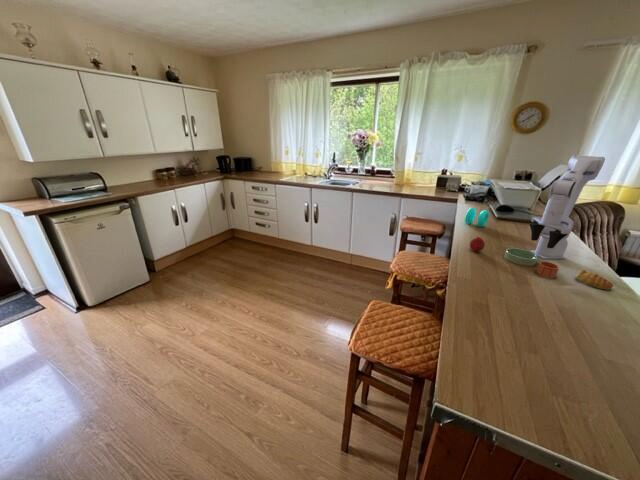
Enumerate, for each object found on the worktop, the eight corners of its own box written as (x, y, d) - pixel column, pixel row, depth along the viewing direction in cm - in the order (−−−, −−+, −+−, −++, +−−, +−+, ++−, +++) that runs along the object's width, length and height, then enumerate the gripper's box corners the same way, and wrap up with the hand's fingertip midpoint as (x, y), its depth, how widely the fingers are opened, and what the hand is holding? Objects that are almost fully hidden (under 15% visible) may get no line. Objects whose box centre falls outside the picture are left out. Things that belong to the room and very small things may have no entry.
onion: (484, 255, 114) (489, 238, 111) (470, 254, 115) (474, 237, 112) (479, 249, 120) (484, 234, 116) (466, 248, 121) (470, 233, 117)
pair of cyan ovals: (468, 221, 159) (472, 205, 155) (486, 225, 152) (491, 209, 148) (462, 224, 152) (466, 208, 148) (480, 229, 146) (485, 212, 142)
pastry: (613, 287, 91) (618, 278, 90) (607, 293, 88) (612, 283, 86) (579, 275, 98) (583, 267, 97) (572, 280, 95) (576, 271, 94)
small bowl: (545, 271, 101) (549, 261, 100) (558, 278, 96) (563, 268, 95) (532, 271, 101) (536, 261, 99) (544, 278, 96) (548, 268, 94)
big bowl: (521, 254, 115) (523, 247, 114) (542, 266, 105) (545, 259, 104) (498, 255, 115) (500, 248, 113) (516, 267, 105) (519, 259, 103)
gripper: (529, 206, 104) (518, 237, 110) (561, 217, 91) (548, 251, 96) (545, 206, 105) (534, 237, 110) (580, 217, 91) (565, 251, 97)
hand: (541, 243), depth 103 cm, fingers open, 7 cm apart
